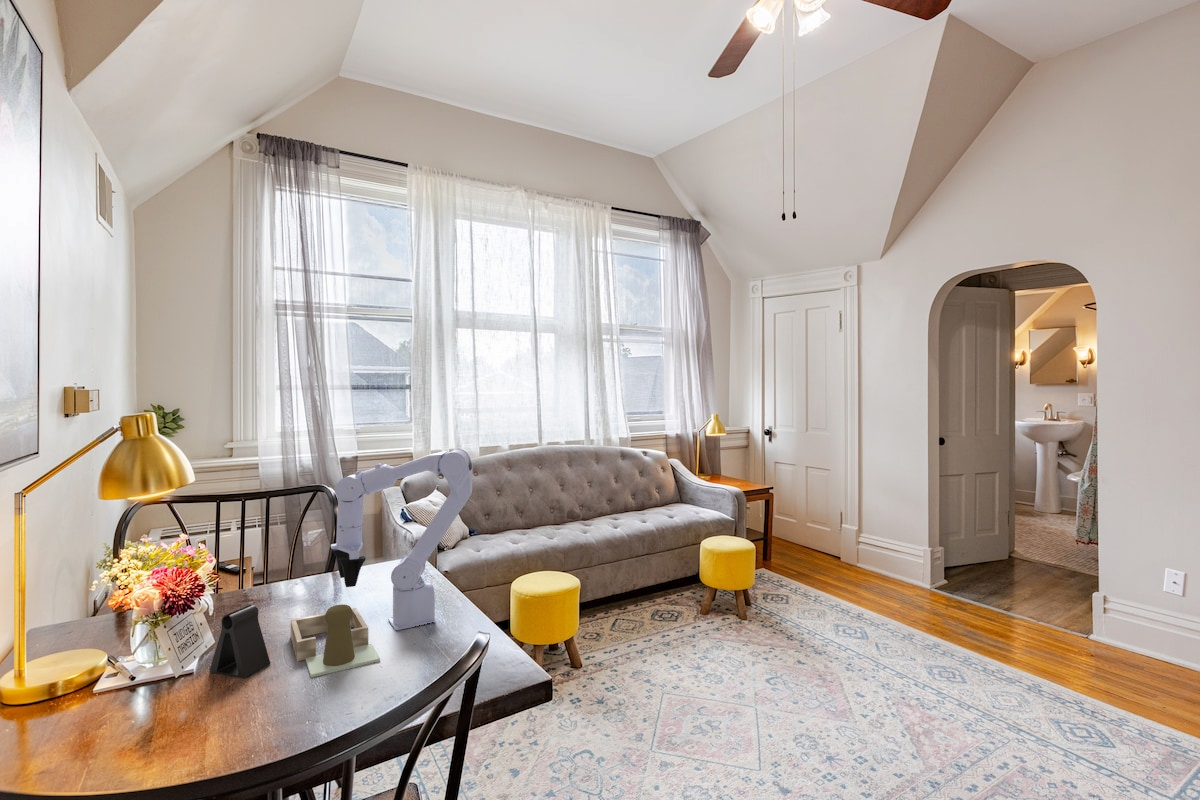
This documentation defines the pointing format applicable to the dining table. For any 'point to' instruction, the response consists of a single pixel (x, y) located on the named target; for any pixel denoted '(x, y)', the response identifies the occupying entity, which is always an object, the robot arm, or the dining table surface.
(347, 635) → the olive game pawn
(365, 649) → the sage mat
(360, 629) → the access bay
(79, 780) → the dining table surface
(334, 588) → the dining table surface
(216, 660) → the black triangular stand
